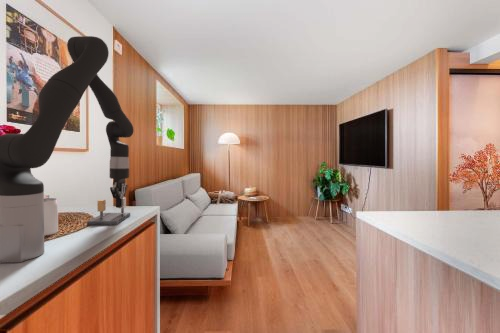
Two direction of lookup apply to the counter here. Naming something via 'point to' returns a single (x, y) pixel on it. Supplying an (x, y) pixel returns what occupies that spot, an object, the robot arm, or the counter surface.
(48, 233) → the can
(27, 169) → the robot arm
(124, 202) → the knob
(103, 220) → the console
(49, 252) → the counter surface
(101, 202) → the knob
